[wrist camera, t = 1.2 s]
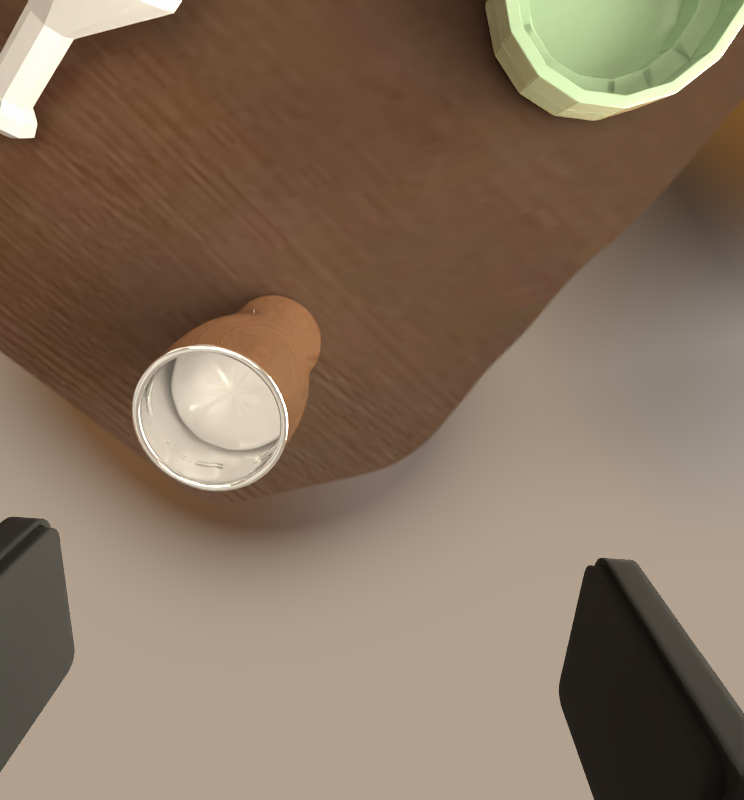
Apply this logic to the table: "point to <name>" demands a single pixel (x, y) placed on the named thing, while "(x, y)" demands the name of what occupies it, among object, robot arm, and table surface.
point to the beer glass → (228, 395)
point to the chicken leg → (56, 48)
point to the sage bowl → (608, 49)
